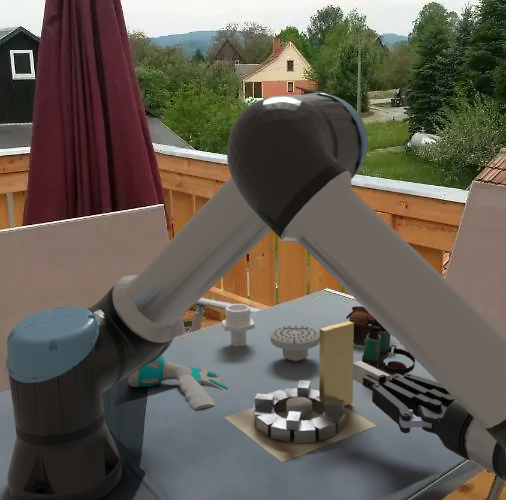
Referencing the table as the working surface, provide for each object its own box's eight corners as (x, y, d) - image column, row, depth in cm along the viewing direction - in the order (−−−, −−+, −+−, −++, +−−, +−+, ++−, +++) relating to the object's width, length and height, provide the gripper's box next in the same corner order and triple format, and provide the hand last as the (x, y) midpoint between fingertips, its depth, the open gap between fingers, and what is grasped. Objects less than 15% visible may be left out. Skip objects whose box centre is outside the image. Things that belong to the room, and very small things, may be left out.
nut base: (282, 469, 93) (281, 441, 92) (224, 424, 106) (223, 398, 105) (376, 432, 103) (377, 406, 102) (313, 394, 116) (313, 371, 115)
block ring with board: (289, 452, 95) (288, 361, 92) (237, 414, 106) (235, 332, 103) (379, 418, 104) (381, 334, 101) (323, 386, 116) (323, 310, 112)
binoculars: (411, 340, 114) (357, 325, 119) (403, 395, 117) (351, 378, 122) (427, 324, 121) (375, 310, 126) (419, 376, 124) (369, 361, 129)
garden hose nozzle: (250, 386, 112) (211, 335, 129) (148, 397, 105) (121, 341, 122) (245, 423, 114) (207, 368, 131) (145, 436, 107) (119, 376, 124)
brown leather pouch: (332, 341, 142) (340, 303, 144) (364, 351, 146) (371, 315, 148) (370, 344, 132) (378, 304, 133) (403, 355, 136) (411, 316, 138)
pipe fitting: (216, 344, 140) (214, 308, 138) (241, 335, 144) (240, 300, 143) (235, 352, 135) (234, 315, 133) (261, 343, 140) (260, 307, 138)
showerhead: (268, 339, 122) (272, 320, 132) (269, 375, 124) (272, 354, 134) (319, 340, 121) (319, 321, 131) (319, 376, 123) (319, 355, 133)
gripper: (445, 477, 80) (322, 403, 99) (513, 445, 87) (386, 381, 106) (448, 420, 78) (322, 356, 98) (518, 392, 85) (388, 337, 104)
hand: (356, 369), depth 102 cm, fingers closed
